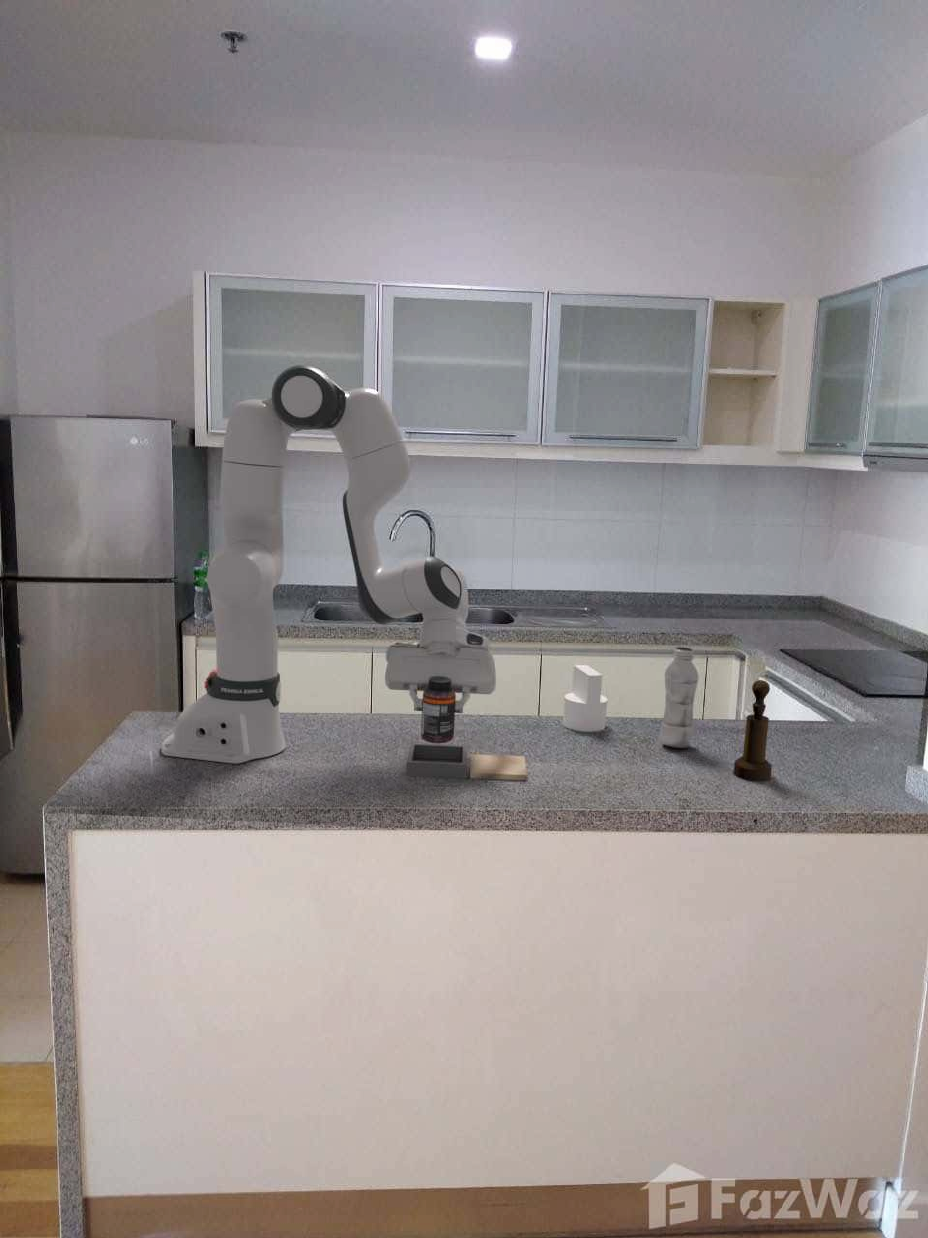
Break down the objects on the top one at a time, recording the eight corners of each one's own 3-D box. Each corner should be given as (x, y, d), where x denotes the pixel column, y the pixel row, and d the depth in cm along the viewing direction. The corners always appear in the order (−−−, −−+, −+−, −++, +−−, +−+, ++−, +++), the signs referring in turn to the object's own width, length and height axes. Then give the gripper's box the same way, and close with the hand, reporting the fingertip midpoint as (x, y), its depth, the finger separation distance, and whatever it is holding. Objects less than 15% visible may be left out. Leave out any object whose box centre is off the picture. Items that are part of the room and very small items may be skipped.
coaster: (470, 778, 169) (470, 772, 168) (470, 759, 178) (470, 754, 178) (526, 780, 169) (527, 775, 168) (524, 761, 178) (524, 756, 178)
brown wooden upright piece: (759, 768, 180) (769, 676, 177) (777, 780, 174) (788, 685, 170) (727, 769, 179) (736, 676, 175) (744, 782, 172) (754, 685, 169)
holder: (406, 775, 168) (406, 762, 168) (410, 755, 179) (410, 743, 178) (466, 778, 168) (466, 765, 168) (466, 758, 179) (467, 745, 178)
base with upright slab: (612, 730, 200) (616, 675, 198) (571, 732, 198) (575, 676, 195) (595, 718, 208) (599, 664, 206) (556, 719, 206) (560, 665, 204)
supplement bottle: (435, 731, 177) (438, 672, 175) (460, 739, 173) (464, 679, 171) (413, 738, 172) (416, 677, 170) (438, 746, 169) (442, 684, 166)
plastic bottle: (687, 754, 187) (696, 654, 183) (654, 747, 190) (662, 649, 186) (697, 745, 192) (705, 648, 188) (664, 739, 195) (672, 643, 192)
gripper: (386, 633, 176) (379, 699, 168) (497, 638, 176) (495, 704, 168) (387, 651, 181) (381, 716, 174) (495, 656, 181) (493, 721, 174)
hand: (438, 710), depth 171 cm, fingers closed on supplement bottle, 6 cm apart
